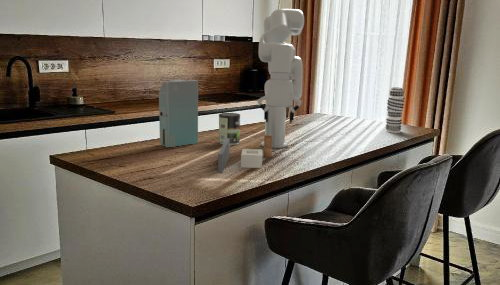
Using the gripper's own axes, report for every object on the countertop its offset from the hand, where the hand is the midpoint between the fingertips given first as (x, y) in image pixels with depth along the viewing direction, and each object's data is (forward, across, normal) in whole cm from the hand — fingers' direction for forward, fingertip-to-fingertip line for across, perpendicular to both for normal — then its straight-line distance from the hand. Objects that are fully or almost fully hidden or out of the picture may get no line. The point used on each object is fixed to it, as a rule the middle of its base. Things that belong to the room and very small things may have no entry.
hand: (278, 121), depth 178 cm
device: (+18, +46, -34) cm, 60 cm away
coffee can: (+18, +23, -41) cm, 51 cm away
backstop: (+18, +13, 0) cm, 22 cm away
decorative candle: (+18, -67, -87) cm, 111 cm away
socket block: (+17, +10, 0) cm, 20 cm away
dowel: (+18, +4, -13) cm, 23 cm away
